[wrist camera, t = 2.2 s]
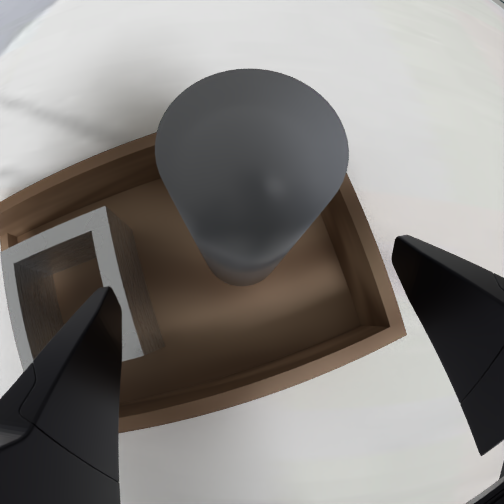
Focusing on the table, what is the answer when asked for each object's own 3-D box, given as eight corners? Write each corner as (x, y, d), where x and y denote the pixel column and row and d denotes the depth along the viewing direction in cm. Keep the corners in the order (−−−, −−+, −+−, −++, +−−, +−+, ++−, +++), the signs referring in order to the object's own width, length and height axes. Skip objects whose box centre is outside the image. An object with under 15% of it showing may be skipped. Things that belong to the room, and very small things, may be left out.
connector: (261, 298, 18) (320, 263, 6) (197, 275, 18) (122, 192, 6) (283, 236, 19) (362, 102, 6) (221, 214, 19) (203, 54, 6)
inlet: (165, 346, 17) (144, 355, 13) (65, 372, 17) (27, 383, 12) (131, 229, 19) (105, 205, 14) (39, 264, 18) (0, 252, 13)
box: (372, 331, 19) (406, 334, 14) (58, 423, 16) (25, 442, 12) (294, 133, 21) (307, 95, 17) (13, 232, 19) (-23, 215, 14)
